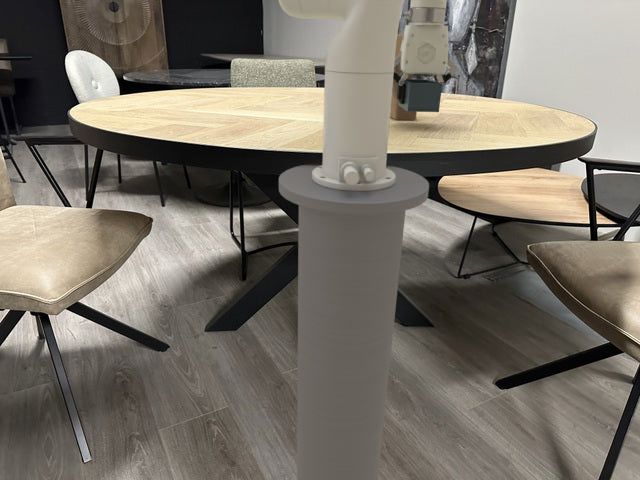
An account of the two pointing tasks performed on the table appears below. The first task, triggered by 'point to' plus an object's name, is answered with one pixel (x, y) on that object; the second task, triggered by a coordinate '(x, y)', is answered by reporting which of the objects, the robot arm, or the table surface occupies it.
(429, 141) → the table surface
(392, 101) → the decorative block
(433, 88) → the box
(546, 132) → the table surface
